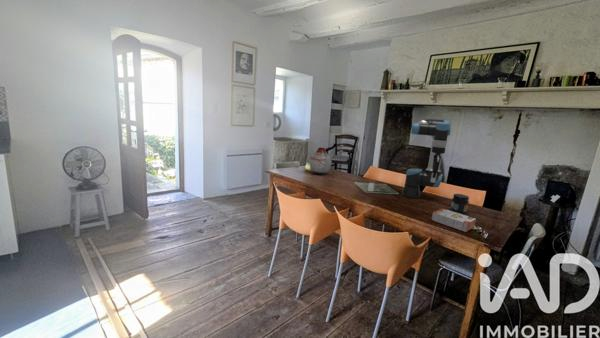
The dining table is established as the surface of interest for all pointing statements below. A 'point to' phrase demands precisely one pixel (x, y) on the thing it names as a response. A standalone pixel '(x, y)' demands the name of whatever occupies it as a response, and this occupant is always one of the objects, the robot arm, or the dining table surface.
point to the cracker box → (453, 219)
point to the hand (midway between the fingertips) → (432, 182)
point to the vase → (320, 162)
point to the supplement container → (459, 203)
